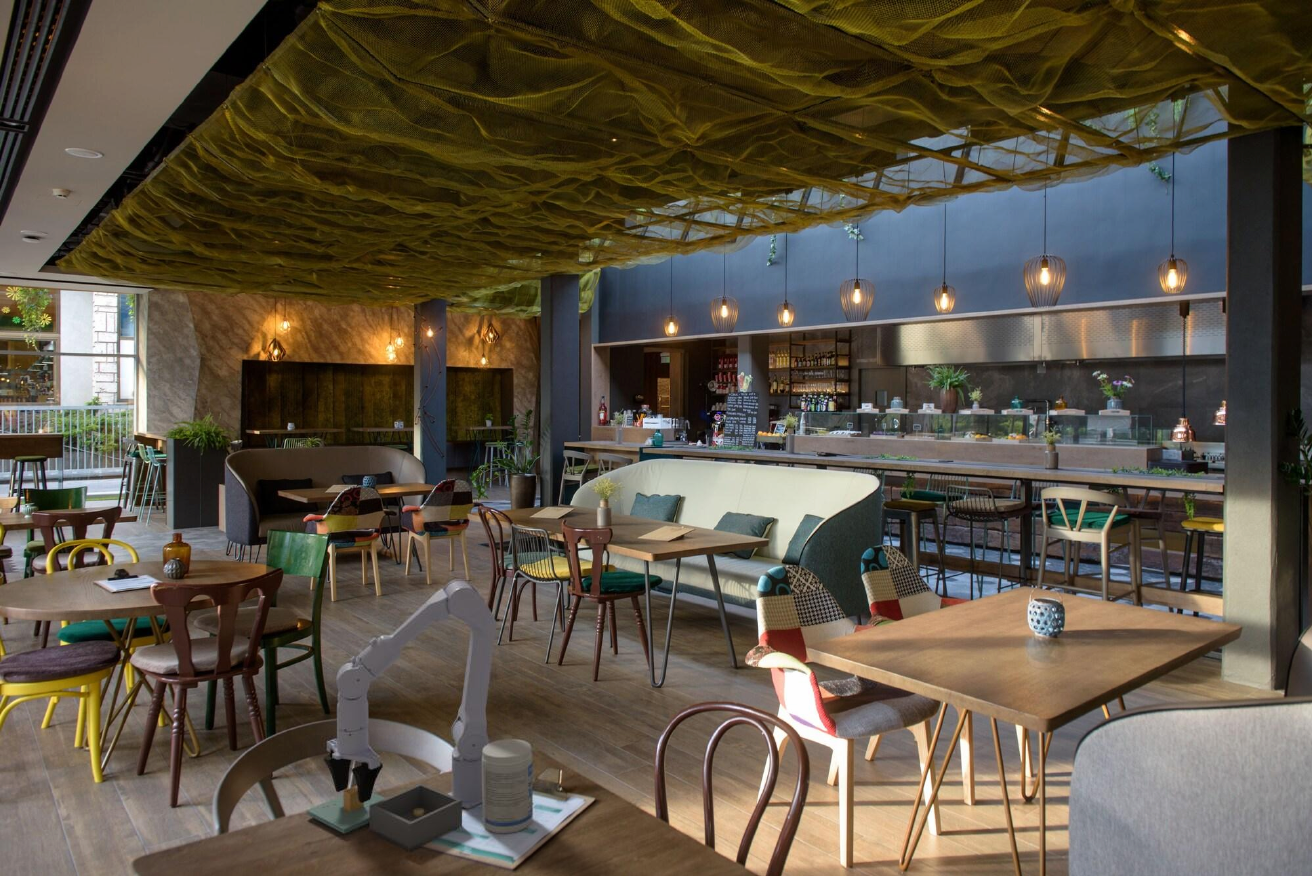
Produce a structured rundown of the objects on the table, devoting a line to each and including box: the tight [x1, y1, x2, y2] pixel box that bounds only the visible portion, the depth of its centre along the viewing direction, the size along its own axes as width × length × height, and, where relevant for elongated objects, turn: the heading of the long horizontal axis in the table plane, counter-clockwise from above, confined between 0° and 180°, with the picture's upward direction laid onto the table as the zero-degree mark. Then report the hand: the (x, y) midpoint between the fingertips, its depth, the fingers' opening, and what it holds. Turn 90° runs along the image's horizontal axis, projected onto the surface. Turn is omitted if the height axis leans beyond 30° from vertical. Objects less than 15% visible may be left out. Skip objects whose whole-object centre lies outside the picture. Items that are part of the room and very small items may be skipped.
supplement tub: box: [481, 738, 534, 834], centre depth 165 cm, size 10×10×15 cm
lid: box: [306, 785, 387, 834], centre depth 168 cm, size 12×12×5 cm
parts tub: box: [368, 783, 463, 853], centre depth 163 cm, size 12×12×5 cm
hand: (353, 795), depth 168 cm, fingers open, 7 cm apart
